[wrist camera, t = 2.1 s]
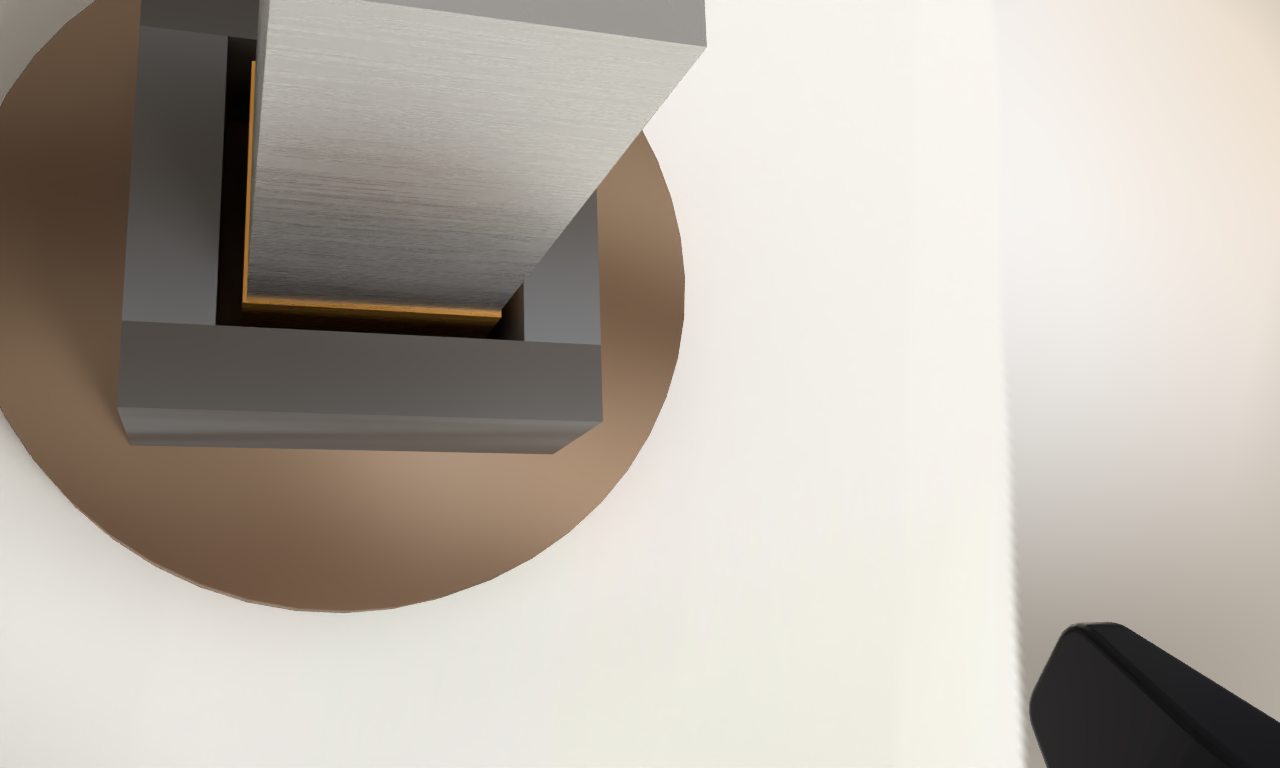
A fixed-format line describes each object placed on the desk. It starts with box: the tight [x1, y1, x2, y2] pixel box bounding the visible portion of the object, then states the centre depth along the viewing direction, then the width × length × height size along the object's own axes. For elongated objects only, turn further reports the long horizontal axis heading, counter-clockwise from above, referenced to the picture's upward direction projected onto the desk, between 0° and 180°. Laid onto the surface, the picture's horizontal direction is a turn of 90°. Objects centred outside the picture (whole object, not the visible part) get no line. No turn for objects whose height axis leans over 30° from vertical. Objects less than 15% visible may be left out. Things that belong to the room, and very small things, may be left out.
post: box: [241, 0, 707, 339], centre depth 16 cm, size 4×4×11 cm
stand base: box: [0, 0, 685, 613], centre depth 20 cm, size 12×12×4 cm
